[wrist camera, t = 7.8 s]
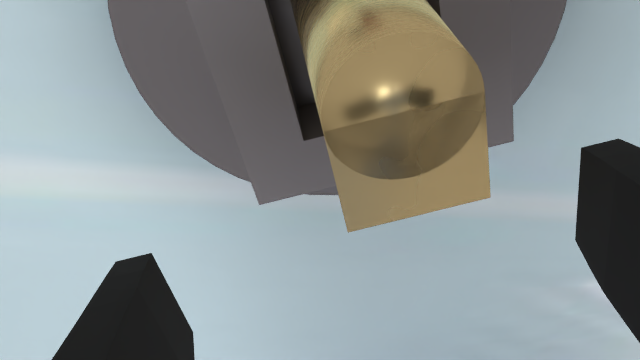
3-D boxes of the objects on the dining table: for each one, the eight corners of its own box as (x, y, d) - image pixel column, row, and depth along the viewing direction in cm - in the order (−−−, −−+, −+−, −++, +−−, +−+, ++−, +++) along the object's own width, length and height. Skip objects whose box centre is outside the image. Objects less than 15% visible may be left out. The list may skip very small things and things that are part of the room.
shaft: (407, 58, 18) (490, 199, 12) (310, 82, 18) (348, 233, 12) (388, -82, 15) (480, 11, 10) (276, -53, 16) (304, 57, 10)
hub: (553, 127, 21) (595, 175, 19) (202, 215, 22) (198, 273, 19) (564, -347, 14) (638, -370, 11) (19, -199, 14) (-25, -189, 11)
